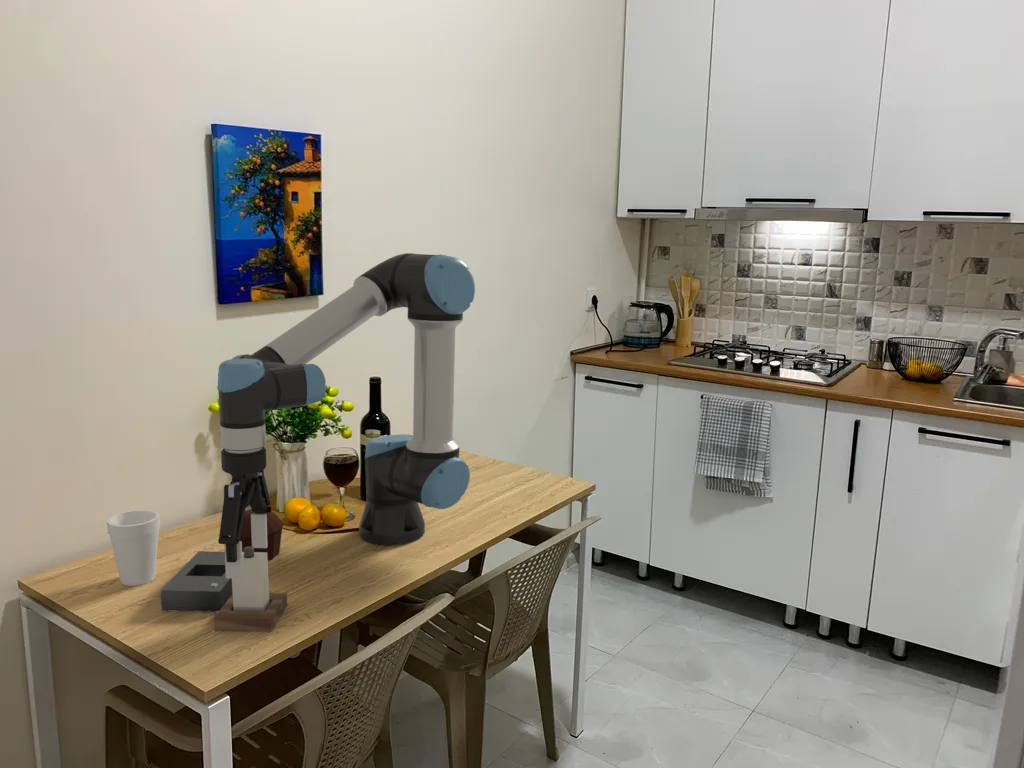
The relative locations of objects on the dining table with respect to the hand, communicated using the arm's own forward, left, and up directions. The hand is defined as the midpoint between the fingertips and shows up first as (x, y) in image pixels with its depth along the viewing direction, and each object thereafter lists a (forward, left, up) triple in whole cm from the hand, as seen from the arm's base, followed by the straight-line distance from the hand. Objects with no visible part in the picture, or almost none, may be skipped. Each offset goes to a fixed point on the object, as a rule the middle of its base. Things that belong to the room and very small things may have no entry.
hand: (247, 562), depth 146 cm
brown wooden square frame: (0, 0, -11) cm, 11 cm away
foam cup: (+28, -15, -11) cm, 34 cm away
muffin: (+8, -28, -11) cm, 31 cm away
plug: (0, 0, -11) cm, 11 cm away
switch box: (+12, -11, -11) cm, 20 cm away
